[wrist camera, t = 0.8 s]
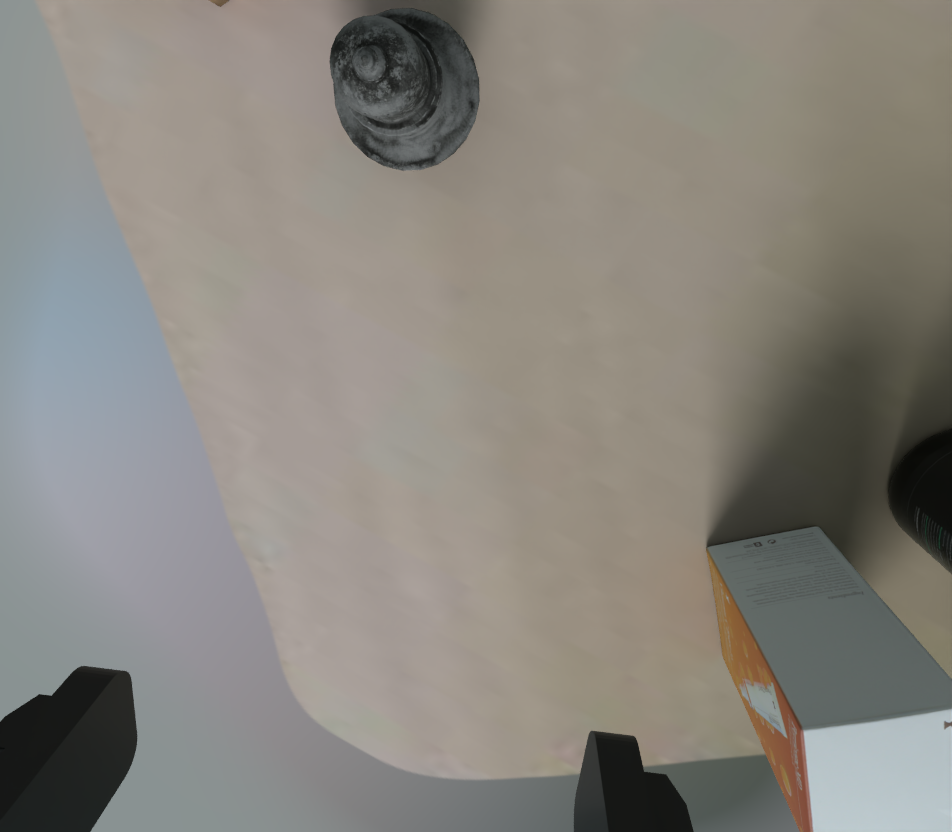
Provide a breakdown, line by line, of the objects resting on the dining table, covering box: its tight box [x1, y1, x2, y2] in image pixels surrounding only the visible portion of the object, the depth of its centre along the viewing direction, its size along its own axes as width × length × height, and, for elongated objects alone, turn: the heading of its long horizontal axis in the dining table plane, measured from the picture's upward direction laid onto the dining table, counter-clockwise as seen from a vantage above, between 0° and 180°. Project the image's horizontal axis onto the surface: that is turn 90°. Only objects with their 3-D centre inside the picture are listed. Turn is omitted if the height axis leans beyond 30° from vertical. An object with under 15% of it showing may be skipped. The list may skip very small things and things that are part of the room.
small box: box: [706, 527, 952, 832], centre depth 32 cm, size 8×6×13 cm
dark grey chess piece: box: [330, 8, 479, 170], centre depth 24 cm, size 6×6×12 cm
